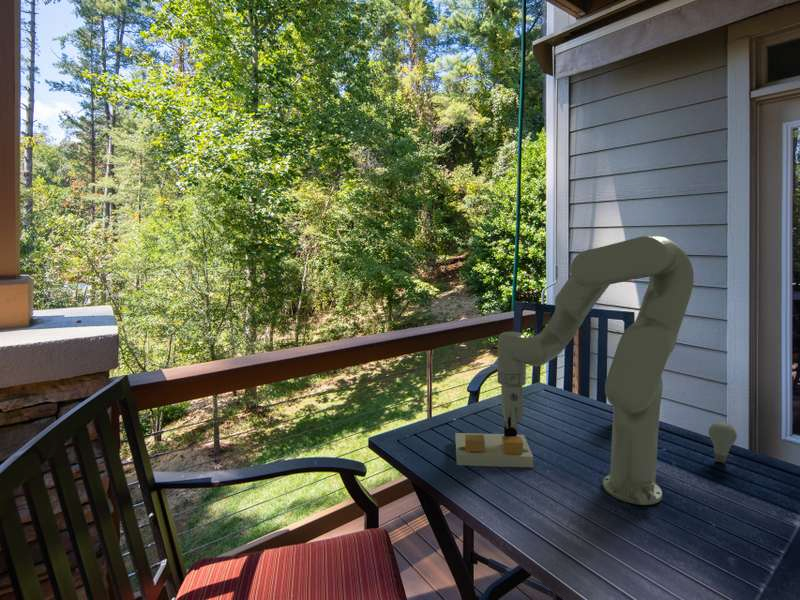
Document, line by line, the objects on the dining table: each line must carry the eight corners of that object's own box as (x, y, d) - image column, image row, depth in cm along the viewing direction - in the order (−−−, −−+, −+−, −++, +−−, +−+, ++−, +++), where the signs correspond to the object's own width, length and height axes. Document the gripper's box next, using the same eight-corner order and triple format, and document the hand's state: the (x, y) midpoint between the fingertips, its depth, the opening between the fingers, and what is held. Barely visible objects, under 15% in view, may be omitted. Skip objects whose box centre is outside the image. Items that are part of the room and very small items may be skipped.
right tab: (522, 453, 120) (523, 442, 120) (503, 453, 121) (504, 442, 121) (520, 447, 124) (520, 436, 124) (501, 446, 125) (502, 436, 125)
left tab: (484, 451, 122) (484, 441, 122) (465, 451, 122) (465, 440, 122) (483, 445, 126) (483, 434, 126) (465, 444, 126) (465, 434, 126)
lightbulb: (722, 469, 117) (725, 428, 116) (700, 459, 123) (703, 420, 122) (740, 466, 119) (743, 426, 118) (718, 455, 125) (721, 417, 123)
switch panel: (533, 467, 120) (533, 456, 119) (456, 465, 122) (456, 454, 121) (523, 444, 134) (523, 434, 133) (455, 442, 135) (455, 432, 135)
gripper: (530, 386, 116) (528, 453, 119) (521, 369, 131) (519, 430, 133) (500, 385, 117) (499, 452, 119) (494, 369, 132) (493, 429, 134)
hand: (510, 440), depth 126 cm, fingers closed
